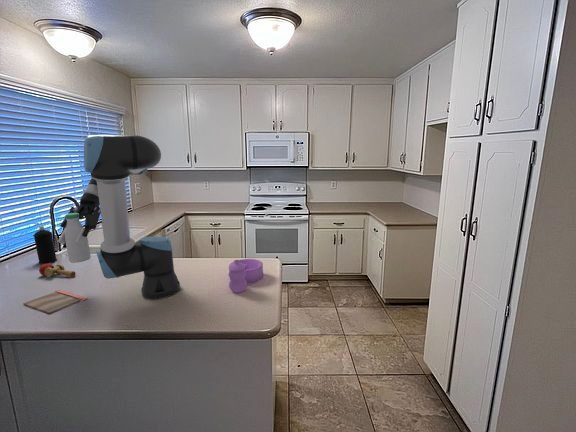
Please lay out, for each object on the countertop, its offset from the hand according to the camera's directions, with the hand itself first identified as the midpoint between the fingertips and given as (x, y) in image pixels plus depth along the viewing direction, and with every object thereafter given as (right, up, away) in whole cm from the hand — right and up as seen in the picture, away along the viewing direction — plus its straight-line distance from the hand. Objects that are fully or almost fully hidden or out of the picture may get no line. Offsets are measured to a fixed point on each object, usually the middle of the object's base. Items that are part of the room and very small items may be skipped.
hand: (69, 243), depth 128 cm
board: (-5, -23, -3) cm, 24 cm away
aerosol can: (-44, -14, +46) cm, 65 cm away
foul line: (-2, -22, +3) cm, 22 cm away
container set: (+69, -19, +13) cm, 72 cm away
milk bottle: (+1, -8, +5) cm, 9 cm away
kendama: (-23, -18, +25) cm, 39 cm away
